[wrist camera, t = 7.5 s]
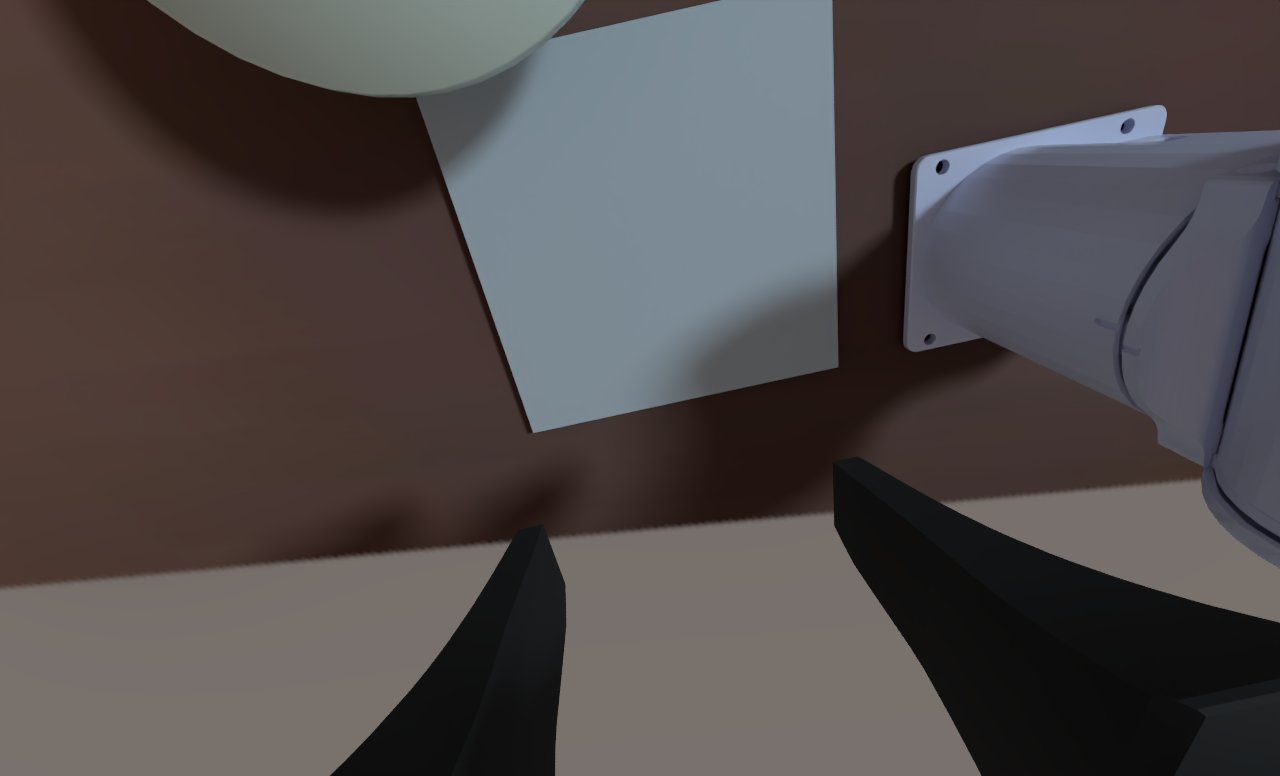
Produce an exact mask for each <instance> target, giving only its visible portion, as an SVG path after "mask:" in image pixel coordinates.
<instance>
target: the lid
mask: <svg viewBox="0 0 1280 776" xmlns="http://www.w3.org/2000/svg"><path fill="white" fill-rule="evenodd" d="M147 1H149V2H150V3H151V4H153V5H154V6H156V7H157V8H159V9H160V10H161V11H163V12H164V13H166V14H167V15H169V16H170V17H172V18H173V19H174V20H176V21H177V22H179V23H180V24H182V25H183V26H185V27H186V28H187V29H189V30H190V31H192V32H193V33H195V34H197V35H198V36H200V37H202V38H204V39H206V40H207V41H209V42H211V43H213V44H215V45H216V46H218V47H220V48H222V49H224V50H225V51H227V52H229V53H231V54H233V55H234V56H236V57H238V58H240V59H243V60H245V61H247V62H250V63H252V64H254V65H257V66H259V67H262V68H264V69H266V70H269V71H271V72H273V73H276V74H278V75H281V76H284V77H287V78H291V79H294V80H298V81H301V82H305V83H308V84H312V85H315V86H319V87H322V88H326V89H330V90H334V91H338V92H345V93H351V94H358V95H365V96H371V97H407V98H413V97H420V96H427V95H434V94H441V93H448V92H451V91H455V90H458V89H461V88H464V87H467V86H471V85H474V84H477V83H480V82H483V81H485V80H487V79H489V78H491V77H493V76H495V75H497V74H499V73H501V72H503V71H505V70H507V69H509V68H511V67H513V66H515V65H516V64H517V63H519V62H520V61H522V60H523V59H524V58H526V57H527V56H529V55H530V54H531V53H533V52H534V51H536V50H537V49H538V48H540V47H541V46H543V45H544V44H545V43H546V42H547V41H548V40H549V39H550V38H551V37H552V36H553V35H554V34H555V33H556V32H557V31H558V30H559V29H560V28H561V27H562V26H563V25H564V24H566V23H567V22H568V21H569V20H570V19H571V17H572V16H573V15H574V14H575V12H576V11H577V10H578V8H579V7H580V6H581V5H582V3H583V2H584V1H585V0H147Z"/></svg>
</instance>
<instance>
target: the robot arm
mask: <svg viewBox="0 0 1280 776" xmlns="http://www.w3.org/2000/svg"><path fill="white" fill-rule="evenodd" d="M1166 116H1167V112H1166V109H1165V107H1163V106H1162V105H1156V106H1147V107H1142V108H1138V109H1133V110H1129V111H1124V112H1120V113H1115V114H1111V115H1106V116H1101V117H1097V118H1092V119H1088V120H1083V121H1079V122H1074V123H1070V124H1065V125H1061V126H1056V127H1052V128H1047V129H1043V130H1038V131H1034V132H1029V133H1024V134H1020V135H1015V136H1011V137H1006V138H1002V139H997V140H993V141H988V142H984V143H979V144H975V145H970V146H966V147H961V148H957V149H952V150H947V151H943V152H938V153H934V154H929V155H925V156H922V157H920V158H919V159H918V160H917V161H916V162H915V163H914V165H913V167H912V170H911V183H910V204H909V225H908V246H907V267H906V288H905V310H904V331H903V344H904V346H905V348H907V349H908V350H910V351H912V352H919V351H923V350H928V349H933V348H937V347H942V346H946V345H951V344H956V343H960V342H965V341H970V340H974V339H979V338H985V339H987V340H989V341H991V342H994V343H996V344H998V345H1000V346H1002V347H1004V348H1006V349H1008V350H1010V351H1013V352H1015V353H1017V354H1019V355H1021V356H1023V357H1025V358H1027V359H1030V360H1032V361H1034V362H1036V363H1038V364H1040V365H1042V366H1044V367H1047V368H1049V369H1051V370H1053V371H1055V372H1057V373H1059V374H1061V375H1064V376H1066V377H1068V378H1070V379H1072V380H1074V381H1076V382H1078V383H1081V384H1083V385H1085V386H1087V387H1089V388H1091V389H1093V390H1095V391H1098V392H1100V393H1102V394H1104V395H1106V396H1108V397H1110V398H1112V399H1114V400H1117V401H1119V402H1121V403H1123V404H1125V405H1127V406H1129V407H1131V408H1134V409H1136V410H1138V411H1140V412H1142V413H1144V414H1147V415H1149V416H1150V417H1151V418H1152V419H1153V420H1154V421H1155V423H1156V425H1157V429H1158V443H1159V444H1161V445H1163V446H1164V447H1166V448H1168V449H1170V450H1172V451H1174V452H1176V453H1178V454H1180V455H1182V456H1184V457H1186V458H1188V459H1190V460H1192V461H1194V462H1196V463H1198V464H1200V465H1202V466H1203V467H1204V471H1203V475H1202V479H1201V482H1202V494H1203V496H1204V499H1205V501H1206V503H1207V506H1208V508H1209V510H1210V511H1211V512H1212V514H1213V515H1214V517H1215V518H1216V519H1217V521H1218V522H1219V523H1220V524H1221V525H1222V526H1223V527H1224V528H1225V529H1226V530H1227V531H1228V532H1229V533H1230V534H1231V535H1232V536H1233V537H1234V538H1235V539H1237V540H1238V541H1239V542H1241V543H1242V544H1243V545H1245V546H1246V547H1248V548H1249V549H1250V550H1252V551H1253V552H1254V553H1256V554H1257V555H1258V556H1260V557H1262V558H1263V559H1265V560H1267V561H1268V562H1270V563H1272V564H1273V565H1275V566H1277V567H1279V568H1280V130H1277V131H1249V132H1221V133H1194V134H1166V135H1162V133H1163V129H1164V125H1165V121H1166ZM1123 123H1124V128H1123V130H1122V131H1121V126H1122V124H1123ZM939 161H942V163H943V167H942V170H941V171H940V172H939V173H936V166H937V164H938V163H939ZM929 334H930V338H929V339H928V340H927V341H925V342H924V339H925V337H926V336H927V335H929ZM833 491H834V525H835V528H836V530H837V532H838V534H839V536H840V538H841V540H842V542H843V544H844V546H845V548H846V550H847V552H848V554H849V555H850V557H851V559H852V561H853V563H854V565H855V566H856V568H857V569H858V571H859V572H860V574H861V575H862V577H863V578H864V580H865V581H866V583H867V584H868V586H869V587H870V589H871V590H872V592H873V593H874V595H875V596H876V598H877V599H878V600H879V602H880V603H881V605H882V606H883V608H884V609H885V611H886V612H887V614H888V615H889V617H890V618H891V620H892V621H893V622H894V624H895V625H896V627H897V628H898V630H899V631H900V633H901V634H902V636H903V637H904V639H905V640H906V642H907V643H908V645H909V646H910V647H911V649H912V651H913V652H914V654H915V655H916V657H917V659H918V660H919V662H920V663H921V665H922V666H923V668H924V670H925V672H926V673H927V675H928V677H929V679H930V681H931V682H932V684H933V686H934V688H935V689H936V691H937V693H938V695H939V697H940V698H941V700H942V702H943V704H944V706H945V708H946V709H947V711H948V713H949V715H950V717H951V718H952V720H953V722H954V724H955V726H956V728H957V730H958V732H959V734H960V736H961V737H962V739H963V741H964V743H965V745H966V747H967V749H968V751H969V752H970V754H971V756H972V758H973V760H974V762H975V764H976V766H977V768H978V770H979V772H980V774H981V776H1280V623H1278V622H1275V621H1270V620H1266V619H1262V618H1258V617H1254V616H1250V615H1246V614H1242V613H1238V612H1234V611H1230V610H1226V609H1222V608H1218V607H1214V606H1210V605H1206V604H1203V603H1199V602H1196V601H1192V600H1188V599H1185V598H1182V597H1178V596H1175V595H1172V594H1168V593H1165V592H1162V591H1158V590H1155V589H1151V588H1148V587H1145V586H1142V585H1139V584H1135V583H1132V582H1129V581H1126V580H1123V579H1120V578H1116V577H1114V576H1110V575H1108V574H1105V573H1102V572H1099V571H1096V570H1093V569H1090V568H1088V567H1085V566H1082V565H1079V564H1077V563H1074V562H1071V561H1068V560H1065V559H1063V558H1060V557H1058V556H1055V555H1052V554H1050V553H1047V552H1045V551H1043V550H1040V549H1038V548H1035V547H1033V546H1031V545H1028V544H1026V543H1023V542H1021V541H1018V540H1016V539H1013V538H1011V537H1009V536H1007V535H1005V534H1002V533H1000V532H998V531H996V530H993V529H991V528H989V527H987V526H985V525H983V524H981V523H979V522H977V521H975V520H973V519H971V518H969V517H967V516H964V515H962V514H960V513H958V512H957V511H955V510H953V509H951V508H949V507H947V506H945V505H943V504H941V503H939V502H937V501H936V500H934V499H932V498H930V497H928V496H926V495H925V494H923V493H921V492H919V491H917V490H916V489H914V488H912V487H910V486H908V485H907V484H905V483H903V482H901V481H900V480H898V479H896V478H894V477H893V476H891V475H889V474H888V473H886V472H884V471H882V470H881V469H879V468H877V467H875V466H874V465H872V464H870V463H868V462H867V461H865V460H863V459H861V458H859V457H853V458H848V459H844V460H839V461H835V462H833ZM565 632H566V593H565V582H564V579H563V577H562V574H561V572H560V569H559V566H558V563H557V561H556V558H555V555H554V553H553V550H552V547H551V545H550V542H549V539H548V537H547V534H546V531H545V529H544V526H543V525H540V526H535V527H531V528H526V529H521V530H519V531H518V532H517V533H516V535H515V537H514V538H513V540H512V542H511V543H510V545H509V547H508V548H507V550H506V552H505V554H504V556H503V557H502V559H501V561H500V562H499V564H498V566H497V567H496V569H495V571H494V573H493V574H492V576H491V578H490V579H489V581H488V582H487V584H486V585H485V587H484V589H483V590H482V592H481V594H480V595H479V597H478V598H477V600H476V601H475V603H474V605H473V606H472V608H471V609H470V611H469V612H468V614H467V615H466V617H465V618H464V620H463V621H462V622H461V624H460V626H459V627H458V628H457V630H456V631H455V633H454V634H453V636H452V637H451V639H450V640H449V641H448V643H447V644H446V646H445V647H444V648H443V650H442V651H441V652H440V654H439V655H438V656H437V658H436V659H435V661H434V662H433V663H432V664H431V666H430V667H429V668H428V669H427V671H426V672H425V673H424V674H423V676H422V677H421V678H420V679H419V681H418V682H417V683H416V684H415V685H414V687H413V688H412V689H411V691H409V693H408V694H407V695H406V696H405V697H404V698H403V699H402V700H401V702H400V703H399V704H398V705H397V706H396V707H395V708H394V709H393V711H392V712H391V713H390V714H389V715H388V716H387V717H386V718H385V719H384V720H383V722H382V723H381V724H380V725H379V726H378V727H377V728H376V729H375V730H374V732H373V733H372V734H371V735H370V736H369V737H368V738H367V739H366V740H365V741H364V742H363V743H362V744H361V745H360V746H359V747H358V748H357V749H356V750H355V752H354V753H353V754H352V755H350V757H349V758H348V759H347V760H346V761H345V762H344V763H343V764H342V765H341V766H339V767H338V768H337V769H336V770H335V771H334V772H333V773H332V774H331V775H330V776H555V743H556V726H557V715H558V705H559V695H560V685H561V675H562V665H563V654H564V644H565Z"/></svg>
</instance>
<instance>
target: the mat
mask: <svg viewBox="0 0 1280 776" xmlns="http://www.w3.org/2000/svg"><path fill="white" fill-rule="evenodd" d="M416 99H417V102H418V105H419V108H420V110H421V113H422V116H423V119H424V122H425V125H426V128H427V130H428V133H429V136H430V139H431V142H432V145H433V148H434V150H435V153H436V156H437V159H438V162H439V165H440V168H441V171H442V173H443V176H444V179H445V182H446V185H447V188H448V191H449V193H450V196H451V199H452V202H453V205H454V208H455V211H456V213H457V216H458V219H459V222H460V225H461V228H462V231H463V233H464V236H465V239H466V242H467V245H468V248H469V251H470V253H471V256H472V259H473V262H474V265H475V268H476V271H477V274H478V276H479V279H480V282H481V285H482V288H483V291H484V294H485V296H486V299H487V302H488V305H489V308H490V311H491V314H492V316H493V319H494V322H495V325H496V328H497V331H498V334H499V336H500V339H501V342H502V345H503V348H504V351H505V354H506V357H507V359H508V362H509V365H510V368H511V371H512V374H513V377H514V379H515V382H516V385H517V388H518V391H519V394H520V397H521V399H522V402H523V405H524V408H525V411H526V414H527V417H528V419H529V422H530V425H531V428H532V431H533V433H536V432H540V431H545V430H550V429H554V428H559V427H563V426H568V425H573V424H577V423H582V422H587V421H591V420H596V419H601V418H605V417H610V416H614V415H619V414H624V413H628V412H633V411H638V410H642V409H647V408H651V407H656V406H661V405H665V404H670V403H675V402H679V401H684V400H689V399H693V398H698V397H702V396H707V395H712V394H716V393H721V392H726V391H730V390H735V389H740V388H744V387H749V386H753V385H758V384H763V383H767V382H772V381H777V380H781V379H786V378H790V377H795V376H800V375H804V374H809V373H814V372H818V371H823V370H828V369H832V368H837V367H838V314H837V255H836V196H835V137H834V78H833V19H832V0H721V1H716V2H712V3H707V4H703V5H699V6H694V7H690V8H685V9H681V10H676V11H672V12H668V13H663V14H659V15H654V16H650V17H645V18H641V19H637V20H632V21H628V22H623V23H619V24H614V25H610V26H606V27H601V28H597V29H592V30H588V31H583V32H579V33H575V34H570V35H566V36H561V37H557V38H552V39H549V40H548V41H547V42H546V43H545V44H544V45H543V46H541V47H540V48H538V49H537V50H536V51H534V52H533V53H531V54H530V55H529V56H527V57H526V58H524V59H523V60H522V61H520V62H519V63H517V64H516V65H515V66H513V67H511V68H509V69H507V70H505V71H503V72H501V73H499V74H497V75H495V76H493V77H491V78H489V79H487V80H485V81H483V82H480V83H477V84H474V85H471V86H467V87H464V88H461V89H458V90H455V91H451V92H448V93H441V94H434V95H427V96H420V97H416Z"/></svg>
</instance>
